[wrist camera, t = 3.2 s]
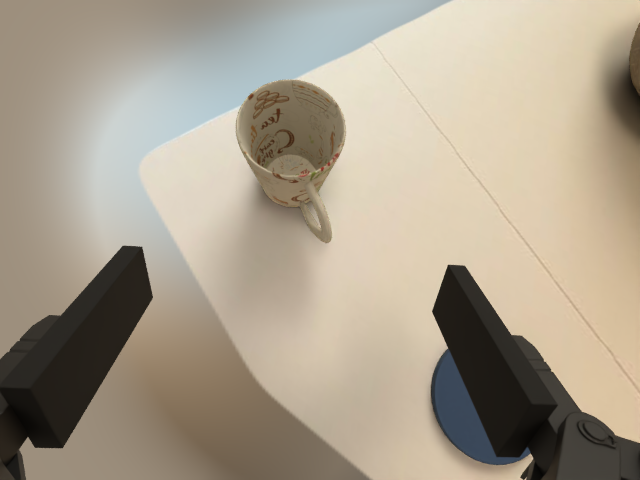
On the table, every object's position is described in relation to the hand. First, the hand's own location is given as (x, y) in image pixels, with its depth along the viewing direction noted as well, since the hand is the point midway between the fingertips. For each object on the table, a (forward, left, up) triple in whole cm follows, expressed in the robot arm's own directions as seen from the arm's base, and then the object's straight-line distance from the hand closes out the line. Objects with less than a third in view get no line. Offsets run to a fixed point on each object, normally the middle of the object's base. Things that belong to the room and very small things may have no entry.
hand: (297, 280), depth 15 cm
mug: (+3, +10, -18) cm, 21 cm away
